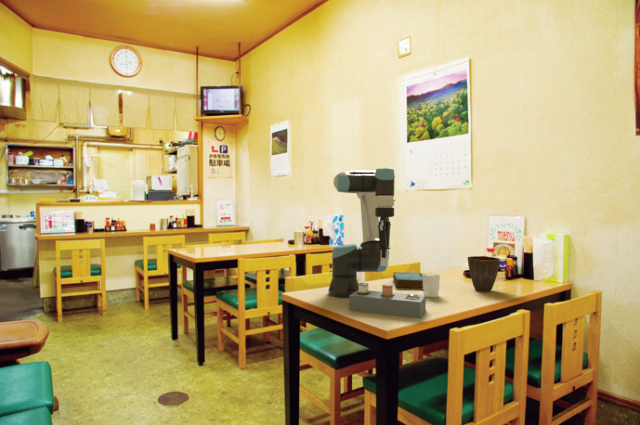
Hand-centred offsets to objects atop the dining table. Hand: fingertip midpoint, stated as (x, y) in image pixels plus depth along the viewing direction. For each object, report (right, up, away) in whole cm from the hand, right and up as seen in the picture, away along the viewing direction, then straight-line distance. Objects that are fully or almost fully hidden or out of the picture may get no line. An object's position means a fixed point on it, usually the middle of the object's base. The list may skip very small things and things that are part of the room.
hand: (384, 265), depth 161 cm
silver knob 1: (-8, -13, +3) cm, 16 cm away
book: (+23, -18, +52) cm, 59 cm away
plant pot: (+55, -17, +37) cm, 68 cm away
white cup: (+26, -18, +25) cm, 40 cm away
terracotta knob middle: (+1, -13, -1) cm, 13 cm away
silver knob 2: (+10, -16, -5) cm, 20 cm away
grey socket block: (+1, -18, -1) cm, 18 cm away
